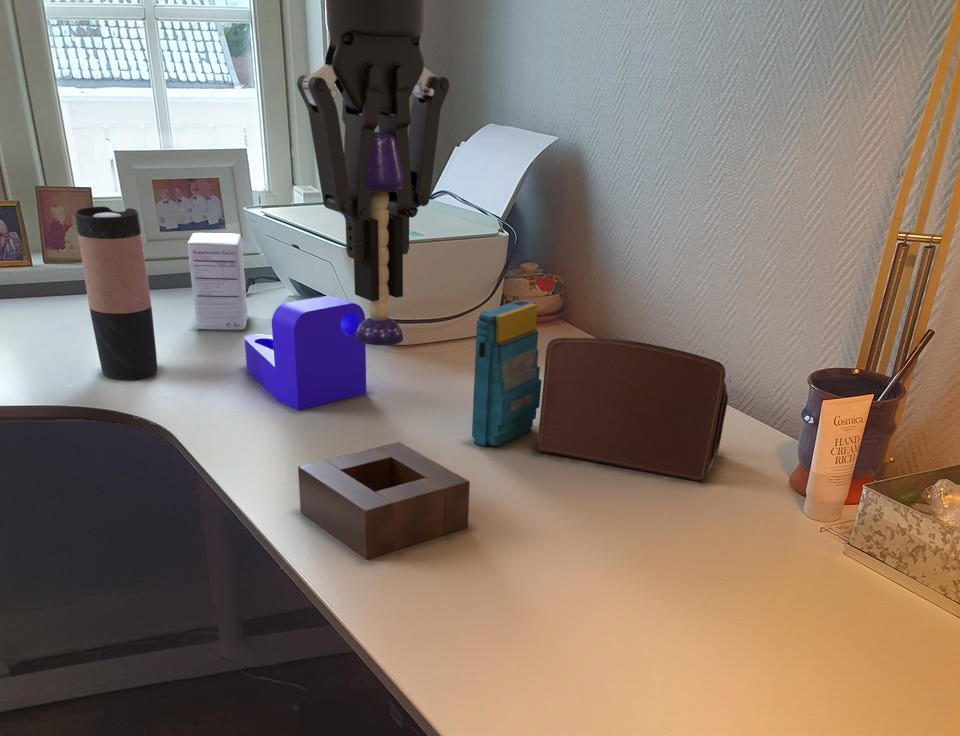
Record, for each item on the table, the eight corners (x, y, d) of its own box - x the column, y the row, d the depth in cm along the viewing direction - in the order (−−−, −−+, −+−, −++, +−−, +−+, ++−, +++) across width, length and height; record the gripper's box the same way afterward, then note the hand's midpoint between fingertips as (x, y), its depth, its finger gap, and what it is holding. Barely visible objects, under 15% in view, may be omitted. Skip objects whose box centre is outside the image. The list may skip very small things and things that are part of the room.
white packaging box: (201, 316, 156) (192, 231, 149) (249, 317, 157) (242, 233, 150) (195, 329, 150) (185, 242, 143) (245, 330, 151) (237, 243, 144)
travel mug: (115, 384, 128) (89, 219, 117) (90, 368, 133) (63, 209, 122) (170, 374, 132) (149, 214, 122) (144, 359, 137) (122, 204, 126)
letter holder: (705, 483, 110) (728, 357, 102) (535, 453, 115) (545, 331, 107) (718, 452, 118) (741, 333, 110) (559, 425, 123) (570, 309, 115)
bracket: (366, 392, 130) (364, 300, 123) (298, 410, 123) (293, 314, 117) (285, 358, 140) (280, 272, 134) (219, 373, 134) (210, 283, 127)
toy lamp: (388, 349, 86) (392, 137, 78) (340, 341, 88) (339, 131, 79) (410, 337, 90) (416, 134, 82) (364, 330, 92) (365, 128, 83)
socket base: (366, 559, 91) (365, 510, 89) (300, 512, 99) (297, 466, 96) (468, 527, 98) (470, 481, 95) (398, 485, 106) (398, 441, 103)
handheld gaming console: (512, 421, 123) (521, 297, 115) (540, 429, 122) (551, 304, 113) (467, 442, 117) (472, 313, 108) (495, 451, 115) (503, 321, 107)
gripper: (314, -31, 68) (329, 316, 81) (482, -20, 76) (471, 294, 89) (261, -32, 73) (283, 296, 85) (424, -22, 81) (421, 277, 94)
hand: (378, 295), depth 87 cm, fingers closed on toy lamp, 2 cm apart
